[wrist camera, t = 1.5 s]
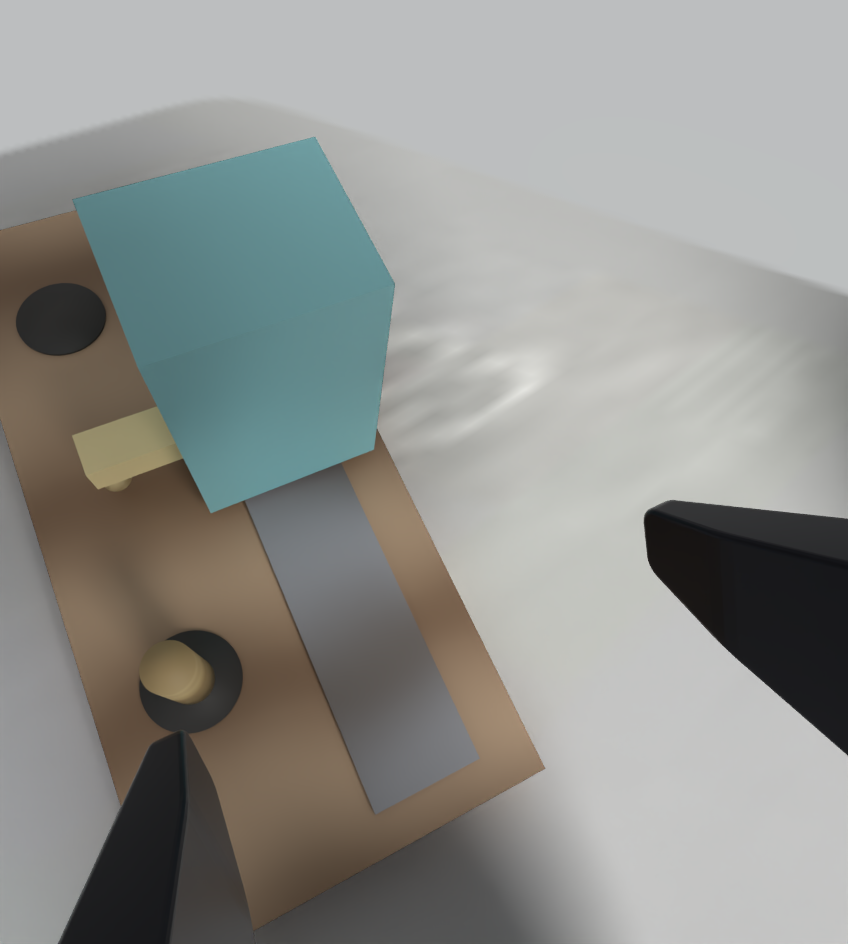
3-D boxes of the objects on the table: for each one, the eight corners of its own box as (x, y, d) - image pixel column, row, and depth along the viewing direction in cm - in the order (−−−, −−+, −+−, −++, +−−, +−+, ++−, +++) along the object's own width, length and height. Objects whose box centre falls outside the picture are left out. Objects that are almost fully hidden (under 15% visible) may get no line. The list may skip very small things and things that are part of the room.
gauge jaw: (374, 449, 21) (395, 284, 14) (124, 546, 19) (-6, 415, 12) (321, 342, 22) (314, 136, 15) (81, 423, 20) (-62, 233, 13)
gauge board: (526, 767, 21) (581, 769, 16) (189, 953, 18) (140, 1020, 13) (252, 205, 27) (235, 92, 22) (-25, 283, 24) (-108, 173, 20)
